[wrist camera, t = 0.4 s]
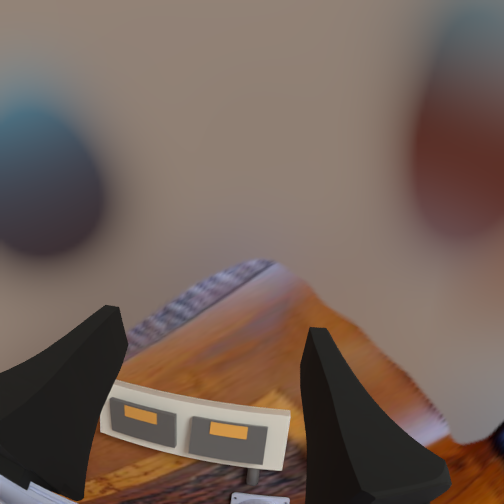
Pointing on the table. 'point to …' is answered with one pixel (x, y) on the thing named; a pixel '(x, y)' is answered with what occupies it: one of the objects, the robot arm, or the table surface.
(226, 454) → the rocker
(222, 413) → the rocker switch panel
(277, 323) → the table surface
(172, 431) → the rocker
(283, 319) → the table surface
